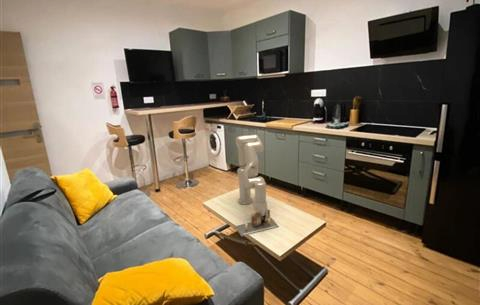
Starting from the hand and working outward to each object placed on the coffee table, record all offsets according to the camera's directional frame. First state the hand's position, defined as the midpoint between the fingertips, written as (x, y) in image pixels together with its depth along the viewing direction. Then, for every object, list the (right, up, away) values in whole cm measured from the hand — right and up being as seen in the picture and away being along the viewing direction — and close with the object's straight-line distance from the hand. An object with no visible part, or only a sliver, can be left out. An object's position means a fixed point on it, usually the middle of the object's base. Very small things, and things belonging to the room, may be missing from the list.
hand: (260, 221), depth 170 cm
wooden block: (0, -1, 0) cm, 1 cm away
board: (-3, -4, -3) cm, 6 cm away
